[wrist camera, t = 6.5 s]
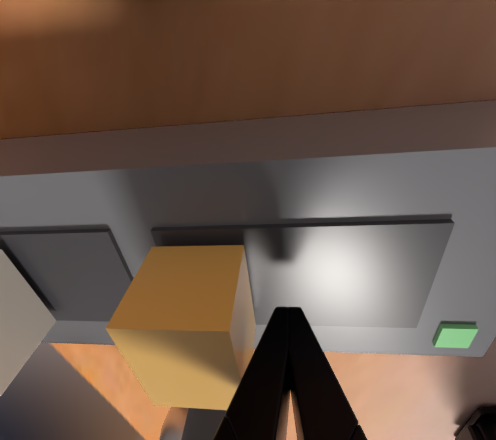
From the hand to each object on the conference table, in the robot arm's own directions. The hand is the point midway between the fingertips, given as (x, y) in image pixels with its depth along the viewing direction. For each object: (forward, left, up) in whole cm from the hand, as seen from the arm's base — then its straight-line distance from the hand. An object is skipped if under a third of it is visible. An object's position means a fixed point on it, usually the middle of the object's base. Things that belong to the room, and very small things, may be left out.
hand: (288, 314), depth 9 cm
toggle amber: (+3, 0, -1) cm, 3 cm away
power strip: (+3, 0, -6) cm, 6 cm away
